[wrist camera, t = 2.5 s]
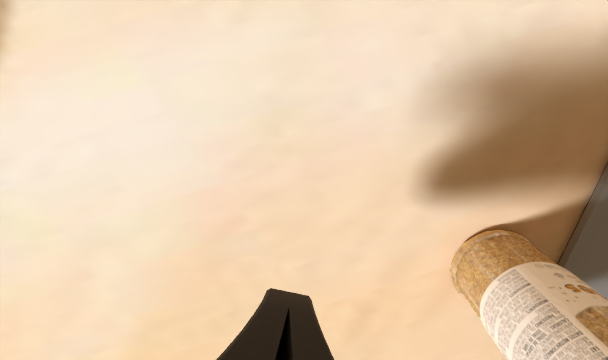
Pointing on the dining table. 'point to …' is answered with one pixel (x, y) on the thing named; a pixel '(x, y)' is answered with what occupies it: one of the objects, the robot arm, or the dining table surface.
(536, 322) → the sprinkles bottle
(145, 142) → the dining table surface
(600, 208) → the rubber mat
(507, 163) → the dining table surface
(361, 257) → the dining table surface
